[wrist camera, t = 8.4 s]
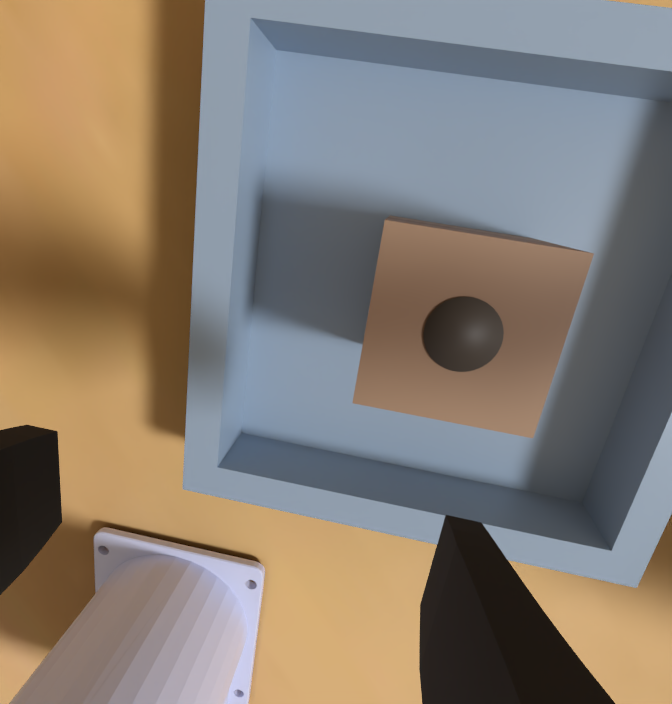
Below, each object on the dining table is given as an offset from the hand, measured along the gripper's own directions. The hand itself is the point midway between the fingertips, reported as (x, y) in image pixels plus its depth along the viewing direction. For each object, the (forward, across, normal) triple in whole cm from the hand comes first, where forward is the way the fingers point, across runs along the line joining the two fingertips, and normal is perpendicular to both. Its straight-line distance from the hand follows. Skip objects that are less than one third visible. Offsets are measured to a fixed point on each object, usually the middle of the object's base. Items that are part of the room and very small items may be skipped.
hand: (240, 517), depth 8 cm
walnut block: (+9, -4, -3) cm, 10 cm away
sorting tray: (+9, -4, -3) cm, 11 cm away
